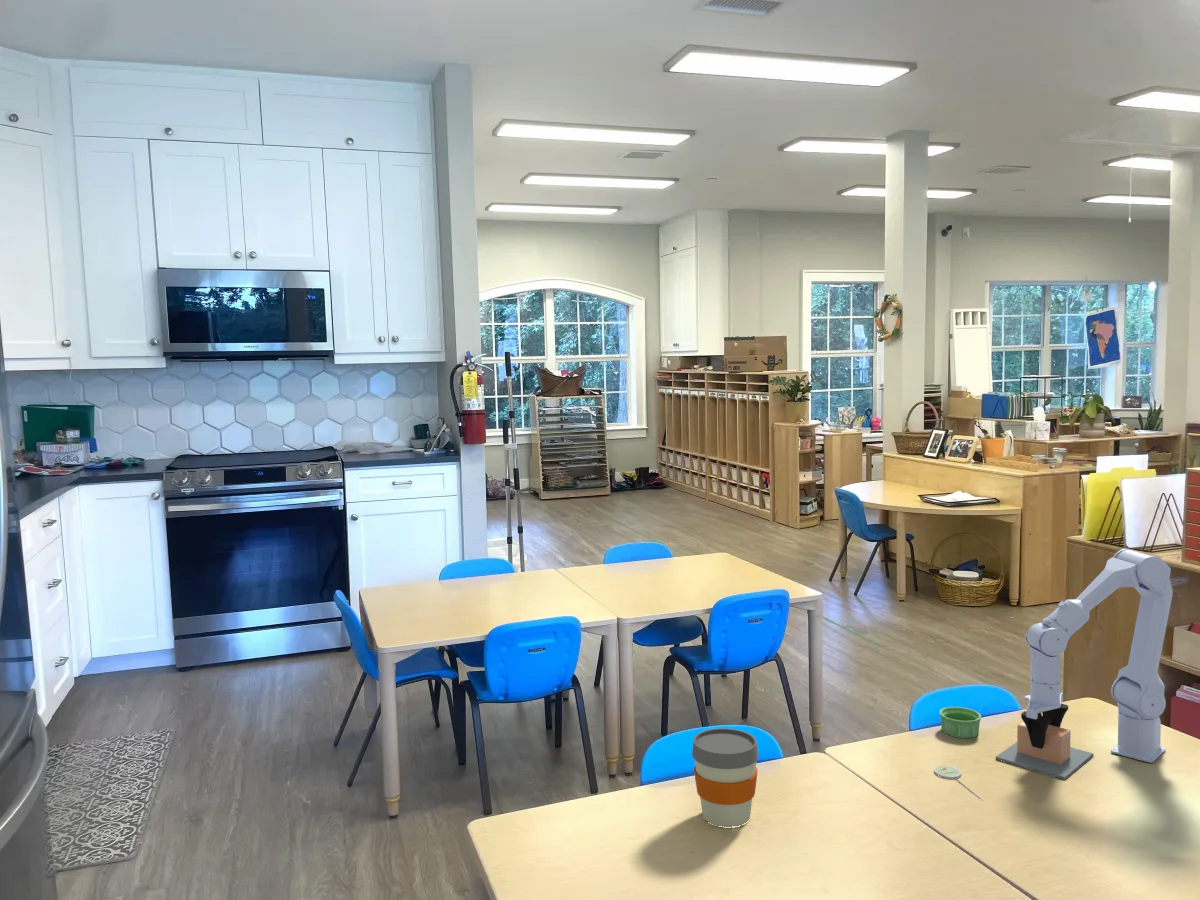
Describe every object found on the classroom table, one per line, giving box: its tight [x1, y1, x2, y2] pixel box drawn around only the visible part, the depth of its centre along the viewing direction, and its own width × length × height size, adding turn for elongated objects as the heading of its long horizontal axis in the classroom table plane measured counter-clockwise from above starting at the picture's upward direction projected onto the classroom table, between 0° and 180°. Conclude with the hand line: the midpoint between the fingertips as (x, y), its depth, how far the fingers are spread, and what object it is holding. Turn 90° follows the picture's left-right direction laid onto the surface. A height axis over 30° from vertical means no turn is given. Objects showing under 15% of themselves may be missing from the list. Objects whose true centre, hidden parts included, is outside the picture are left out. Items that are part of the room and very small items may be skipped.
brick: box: [1016, 720, 1071, 764], centre depth 187 cm, size 9×5×6 cm, turn 42°
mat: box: [995, 741, 1094, 780], centre depth 187 cm, size 16×14×1 cm
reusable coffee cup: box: [691, 727, 759, 827], centre depth 166 cm, size 13×13×15 cm
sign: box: [934, 765, 983, 801], centre depth 177 cm, size 5×1×15 cm
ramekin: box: [939, 706, 982, 739], centre depth 202 cm, size 9×9×4 cm
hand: (1044, 741), depth 187 cm, fingers open, 7 cm apart
